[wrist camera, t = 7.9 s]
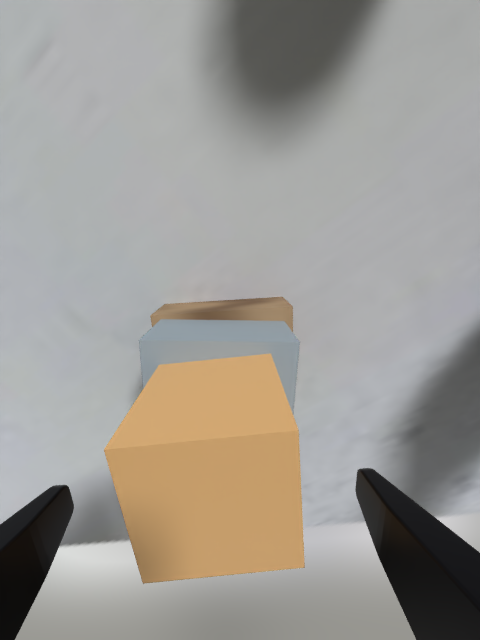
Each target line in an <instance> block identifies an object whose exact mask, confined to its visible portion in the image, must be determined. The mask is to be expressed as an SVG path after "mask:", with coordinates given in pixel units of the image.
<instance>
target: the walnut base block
mask: <svg viewBox="0 0 480 640" xmlns="http://www.w3.org/2000/svg"><path fill="white" fill-rule="evenodd" d="M161 319H181V320H252V321H285V322H286V324H287V325H288V327H289V328H290V329H291V331H292V332H293V306H292V305H290V304H289V303H288V302H287V301H286V300H285V299H284V298H283V297H272V298H256V299H240V300H224V301H208V302H192V303H177V304H164V305H163V306H162V307H161V308H159V309H158V310H157V311H156V312H154V313H153V314H152V315H151V322H152V327H153V326H154V325H155V324H156V323H157V322H159V321H160V320H161Z"/></svg>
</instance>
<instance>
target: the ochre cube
mask: <svg viewBox="0 0 480 640" xmlns="http://www.w3.org/2000/svg"><path fill="white" fill-rule="evenodd" d="M104 452H105V455H106V459H107V462H108V466H109V469H110V472H111V476H112V479H113V483H114V486H115V490H116V493H117V496H118V500H119V503H120V507H121V510H122V513H123V517H124V520H125V524H126V527H127V531H128V534H129V537H130V541H131V544H132V548H133V551H134V555H135V558H136V561H137V565H138V568H139V571H140V575H141V578H142V582H143V583H153V582H163V581H173V580H183V579H193V578H203V577H213V576H224V575H234V574H243V573H253V572H264V571H274V570H284V569H294V568H304V543H303V520H302V498H301V475H300V453H299V430H298V427H297V425H296V422H295V419H294V416H293V414H292V411H291V408H290V405H289V402H288V400H287V397H286V394H285V391H284V388H283V386H282V383H281V380H280V377H279V375H278V372H277V369H276V366H275V363H274V361H273V358H272V355H271V354H261V355H251V356H241V357H231V358H221V359H212V360H202V361H192V362H182V363H172V364H162V365H158V367H157V369H156V370H155V372H154V373H153V375H152V376H151V378H150V379H149V381H148V382H147V384H146V386H145V387H144V389H143V390H142V392H141V393H140V395H139V396H138V398H137V399H136V401H135V403H134V404H133V406H132V407H131V409H130V410H129V412H128V413H127V415H126V416H125V418H124V420H123V421H122V423H121V424H120V426H119V427H118V429H117V430H116V432H115V433H114V435H113V437H112V438H111V440H110V441H109V443H108V444H107V446H106V447H105V449H104Z"/></svg>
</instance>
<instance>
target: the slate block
mask: <svg viewBox="0 0 480 640" xmlns="http://www.w3.org/2000/svg"><path fill="white" fill-rule="evenodd" d="M299 345H300V342H299V340H298V339H297V338H296V336H295V335H294V333H293V332H292V331H291V329H290V328H289V327H288V325H287V324H286V322H285V321H252V320H181V319H161V320H160V321H159V322H157V323H156V324H155V325H154V326H153V327H152V328H151V329H150V330H149V331H148V332H147V333H146V334H145V335H144V336H143V337H142V338H141V339H140V340H139V348H140V359H141V371H142V382H143V389H144V387H145V386H146V384H147V382H148V381H149V379H150V378H151V376H152V375H153V373H154V372H155V370H156V369H157V367H158V365H162V364H172V363H182V362H192V361H202V360H212V359H221V358H231V357H241V356H251V355H261V354H271V355H272V358H273V361H274V363H275V366H276V369H277V372H278V375H279V377H280V380H281V383H282V386H283V388H284V391H285V394H286V397H287V400H288V402H289V405H290V408H291V411H292V414H293V413H294V402H295V391H296V379H297V368H298V357H299Z"/></svg>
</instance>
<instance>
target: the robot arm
mask: <svg viewBox="0 0 480 640" xmlns="http://www.w3.org/2000/svg"><path fill="white" fill-rule="evenodd" d="M356 496H357V499H358V502H359V504H360V507H361V510H362V513H363V516H364V518H365V521H366V524H367V527H368V529H369V532H370V535H371V537H372V540H373V543H374V546H375V548H376V551H377V554H378V556H379V559H380V561H381V563H382V565H383V568H384V570H385V572H386V574H387V577H388V579H389V581H390V583H391V585H392V587H393V590H394V592H395V594H396V596H397V598H398V601H399V603H400V605H401V607H402V609H403V611H404V614H405V616H406V618H407V620H408V622H409V624H410V626H411V629H412V631H413V633H414V635H415V637H416V640H480V553H479V552H478V551H477V550H476V549H474V548H473V547H472V546H471V545H469V544H468V543H467V542H465V541H464V540H463V539H462V538H460V537H459V536H458V535H456V534H455V533H454V532H453V531H451V530H450V529H449V528H448V527H446V526H445V525H444V524H442V523H441V522H440V521H439V520H437V519H436V518H435V517H434V516H432V515H431V514H430V513H428V512H427V511H426V510H425V509H423V508H422V507H421V506H419V505H418V504H417V503H416V502H414V501H413V500H412V499H411V498H409V497H408V496H407V495H405V494H404V493H403V492H402V491H400V490H399V489H398V488H397V487H395V486H394V485H393V484H391V483H390V482H389V481H388V480H386V479H385V478H384V477H382V476H381V475H380V474H379V473H377V472H376V471H375V470H373V469H371V468H364V469H359V470H358V472H357V480H356ZM73 509H74V504H73V500H72V497H71V493H70V489H69V487H68V486H67V485H55V486H52V487H50V488H49V489H48V490H46V491H45V492H43V493H42V494H41V495H39V496H38V497H37V498H35V499H34V500H33V501H31V502H30V503H29V504H27V505H26V506H25V507H23V508H22V509H21V510H19V511H18V512H17V513H15V514H14V515H13V516H11V517H10V518H8V519H7V520H6V521H4V522H3V523H2V524H0V640H15V638H16V636H17V634H18V632H19V630H20V628H21V626H22V624H23V622H24V620H25V618H26V616H27V614H28V612H29V610H30V608H31V606H32V604H33V602H34V600H35V598H36V596H37V594H38V592H39V590H40V588H41V586H42V584H43V582H44V580H45V578H46V576H47V574H48V571H49V569H50V566H51V564H52V562H53V560H54V557H55V554H56V552H57V550H58V548H59V545H60V543H61V540H62V538H63V535H64V533H65V531H66V528H67V526H68V523H69V521H70V519H71V516H72V513H73Z"/></svg>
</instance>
